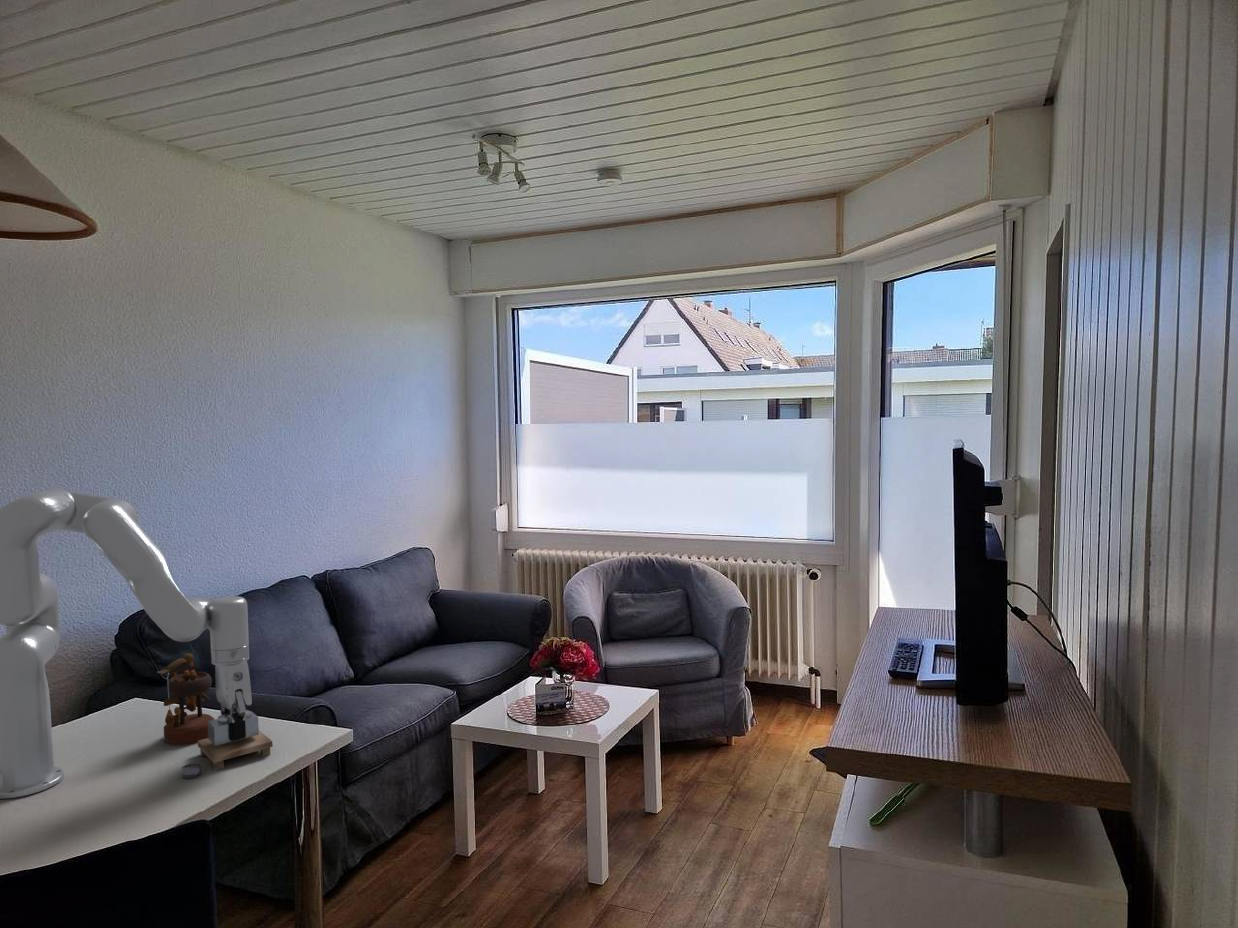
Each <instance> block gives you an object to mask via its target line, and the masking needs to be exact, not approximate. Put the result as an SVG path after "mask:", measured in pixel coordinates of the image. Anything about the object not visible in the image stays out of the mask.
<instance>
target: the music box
mask: <svg viewBox="0 0 1238 928" xmlns="http://www.w3.org/2000/svg"><path fill="white" fill-rule="evenodd" d="M194 657H195V656H194V655H193V654H192V653H185V654H184V655H183V656H182V657H179V658H177V659H175V660H174V661H172V662H171V663H169V664H167V666H165V667H164V669H161V670H159V671H156V674H159V675H164V674H167V676H166V679H167V683H166V691H167V694H168V695H167V697H168V699H164V700H163V707H167V706H168V709H167V713H166V716H165V718H164V722H165V725H164V726H163V741H164V743H165V744H166V745H170V746H187V745H192V744H196V743H197V744H198V741H199V740H203V739H207V738H208V721H210V720H215V718H214V717H213V716H212V715H210V714H207V713H203V704H204V703H205V702H209V701H210V697H209V696H208V695H207V694H205V693H207V692H209V691H210V688H211V686H212V683H213V679H212V676H211V675H210V674H209V673H207V672H205V671H195V669H192V670H190V671H189V669H187V668H188V666H191V667H194V663H193V662H194ZM183 670H184V671H183ZM181 671H183V672H184V673H180V674H177V673H178V672H181ZM170 674H173V676H172V677H171V678H170V679H169V675H170ZM170 696H172V697H171V698H170ZM185 701H186V702H185ZM177 703H178V706H176V707H174V709H173V710H174V711H173V712H174V714H173V713H172V709H170V707H171V706H170V705H174V704H177ZM185 710H188V711H189V712H191V713H192V712H195V711H196V713H192V714H188V713H187V711H185Z"/></svg>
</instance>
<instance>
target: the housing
mask: <svg viewBox="0 0 1238 928" xmlns="http://www.w3.org/2000/svg"><path fill="white" fill-rule="evenodd" d="M230 722H231V721H230V714H223V715H221V714H220V715H218V716H217V718H216V719H215V718H214V720H210V721H208V739H209V740H210V741H211V742H212V743H213V744H214V745H215V746H216V745H220V744H224V743H228V742H232V741H230V738H229V723H230ZM245 726H246V737H245V738H248V737H251V736H255V735H259V731H260V728H259V726H260V725H259V716H258V715H257V714H256V713H254V712H253V711H251V710H249V709H248V710H247V709H246V712H245ZM242 739H244V738H242ZM239 740H240V739H239ZM235 741H236V740H235Z"/></svg>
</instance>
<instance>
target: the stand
mask: <svg viewBox="0 0 1238 928" xmlns="http://www.w3.org/2000/svg"><path fill="white" fill-rule="evenodd" d="M197 747H198V749H199V750H200V755H201V756H202V757H207V758H208V759H209V761H211V763H212V768H213V770H215V771H217V770H220V769H224V767H225V766H224V761H226V760H229V759H233V758H236V757H240V756H243V755H247V754H251V753H255V752H258V751H259V753H260V756H262V757H266V756H271V748H272V747H273V740H272V739H270V738H269V737H268V736H266V735H265V733H263V732H262V731H261V730H259V735H255V736H251V737H248V738H244V739H240V740H236V741H232V742H228V743H224V744H220V745H216V746H215V745H214V744H213V743H212V742H211V741H210V740H209V739H208V738H207V739H203V740H199V741H198V742H197Z"/></svg>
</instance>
